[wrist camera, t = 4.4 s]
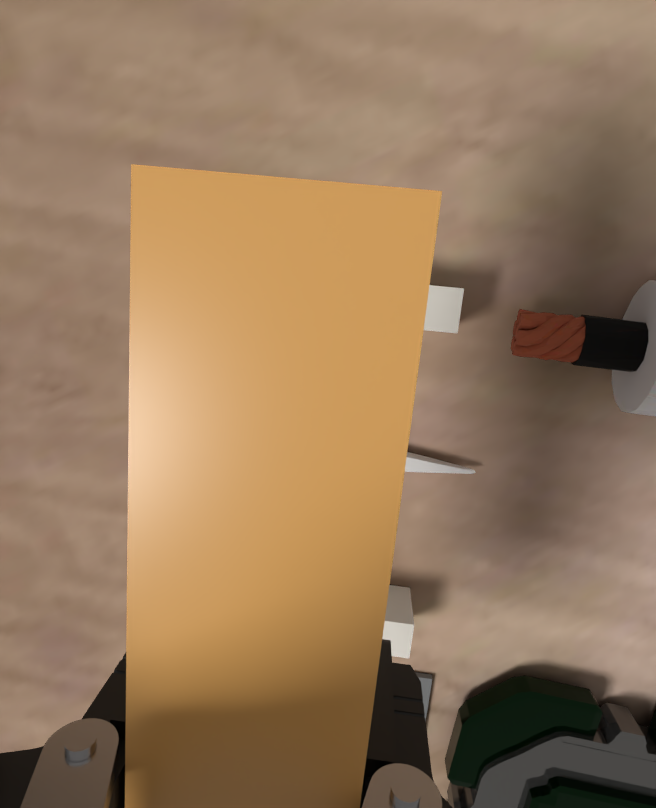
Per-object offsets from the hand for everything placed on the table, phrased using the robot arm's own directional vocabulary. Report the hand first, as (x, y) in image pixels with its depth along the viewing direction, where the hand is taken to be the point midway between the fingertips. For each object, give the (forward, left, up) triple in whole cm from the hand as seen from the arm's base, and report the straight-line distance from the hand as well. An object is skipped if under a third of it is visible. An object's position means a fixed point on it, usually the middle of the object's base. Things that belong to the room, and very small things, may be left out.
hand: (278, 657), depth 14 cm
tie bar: (0, 0, +1) cm, 1 cm away
